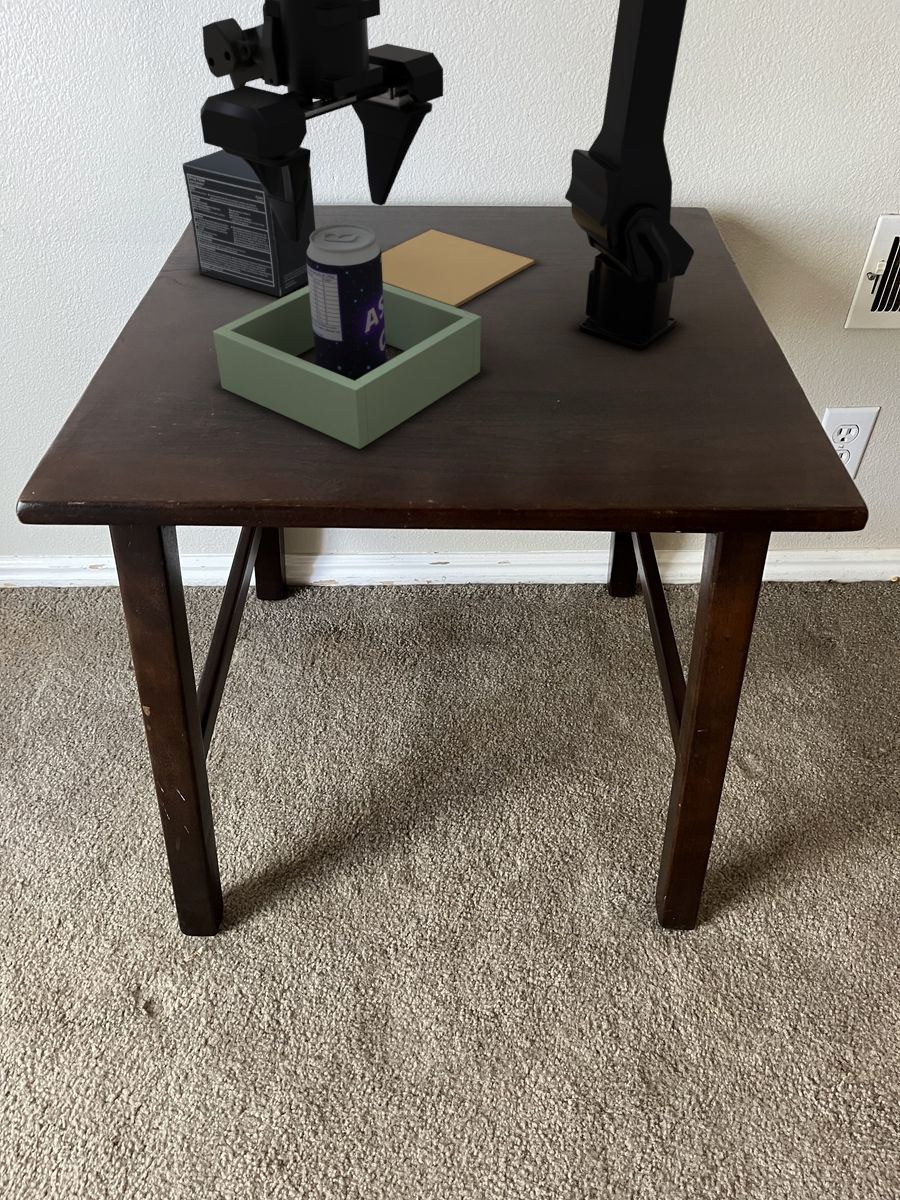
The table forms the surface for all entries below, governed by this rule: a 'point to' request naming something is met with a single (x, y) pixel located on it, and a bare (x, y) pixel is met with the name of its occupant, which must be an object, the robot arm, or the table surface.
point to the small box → (243, 227)
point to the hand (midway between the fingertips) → (337, 221)
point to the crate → (331, 401)
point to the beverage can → (346, 299)
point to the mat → (448, 267)
